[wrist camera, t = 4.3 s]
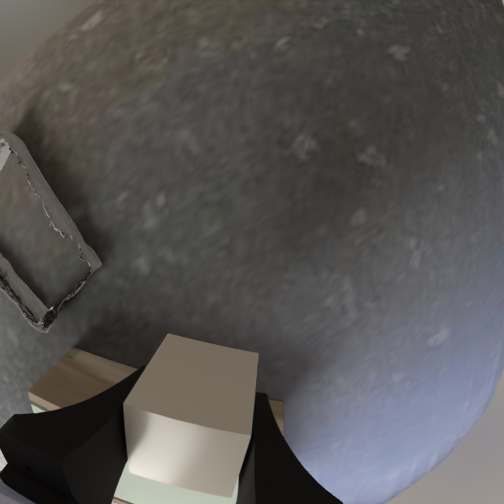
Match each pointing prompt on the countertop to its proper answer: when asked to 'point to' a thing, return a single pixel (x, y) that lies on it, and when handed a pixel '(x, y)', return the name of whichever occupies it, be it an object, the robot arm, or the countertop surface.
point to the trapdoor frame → (92, 384)
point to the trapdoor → (157, 488)
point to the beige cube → (192, 415)
